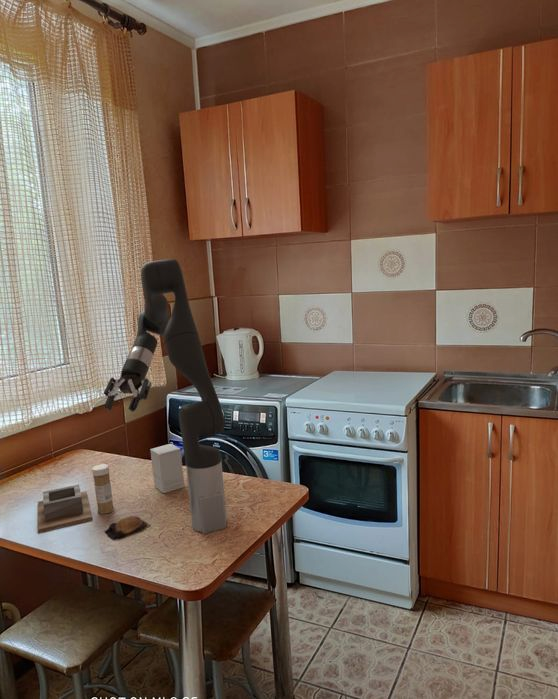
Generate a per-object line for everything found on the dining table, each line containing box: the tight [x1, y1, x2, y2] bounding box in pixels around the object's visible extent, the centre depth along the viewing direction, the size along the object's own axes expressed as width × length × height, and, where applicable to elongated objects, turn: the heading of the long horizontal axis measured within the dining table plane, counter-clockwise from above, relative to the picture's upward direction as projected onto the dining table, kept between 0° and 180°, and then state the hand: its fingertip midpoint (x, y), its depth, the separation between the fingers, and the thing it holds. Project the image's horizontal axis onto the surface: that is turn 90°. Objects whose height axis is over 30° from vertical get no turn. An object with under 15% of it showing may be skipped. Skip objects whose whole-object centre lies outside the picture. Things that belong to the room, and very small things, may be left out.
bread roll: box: [104, 515, 151, 541], centre depth 146 cm, size 11×8×4 cm
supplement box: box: [150, 443, 185, 494], centre depth 172 cm, size 7×7×13 cm
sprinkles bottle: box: [91, 463, 115, 515], centre depth 157 cm, size 5×5×14 cm
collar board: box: [37, 484, 94, 534], centre depth 159 cm, size 20×14×6 cm
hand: (119, 409), depth 165 cm, fingers open, 8 cm apart
